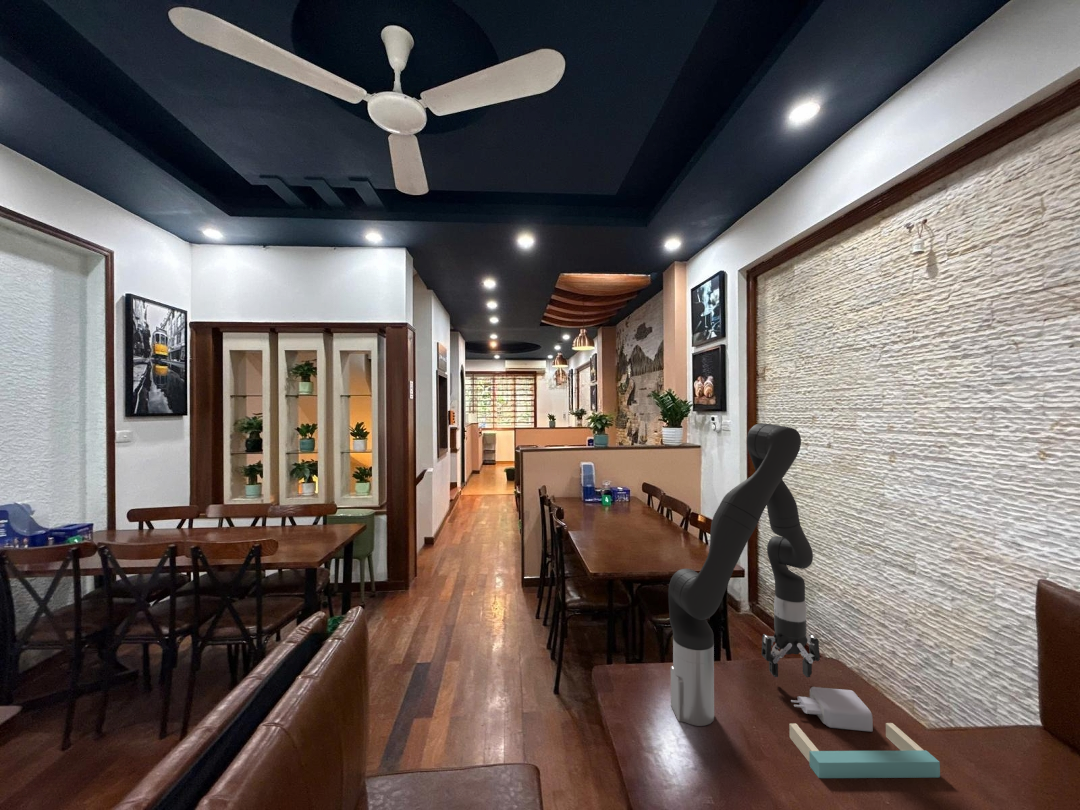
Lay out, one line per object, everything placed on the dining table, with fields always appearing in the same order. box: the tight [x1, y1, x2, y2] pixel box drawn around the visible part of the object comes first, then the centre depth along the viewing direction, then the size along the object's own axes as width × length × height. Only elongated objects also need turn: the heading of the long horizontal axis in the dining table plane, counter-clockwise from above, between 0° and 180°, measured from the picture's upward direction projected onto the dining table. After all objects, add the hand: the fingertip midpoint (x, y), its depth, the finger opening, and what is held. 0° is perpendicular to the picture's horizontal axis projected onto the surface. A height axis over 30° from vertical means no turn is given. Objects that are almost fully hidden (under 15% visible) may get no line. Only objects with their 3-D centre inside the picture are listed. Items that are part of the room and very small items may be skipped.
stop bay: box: [788, 722, 941, 779], centre depth 93 cm, size 24×11×3 cm, turn 90°
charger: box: [790, 686, 874, 733], centre depth 105 cm, size 5×9×15 cm
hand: (790, 675), depth 118 cm, fingers open, 8 cm apart
